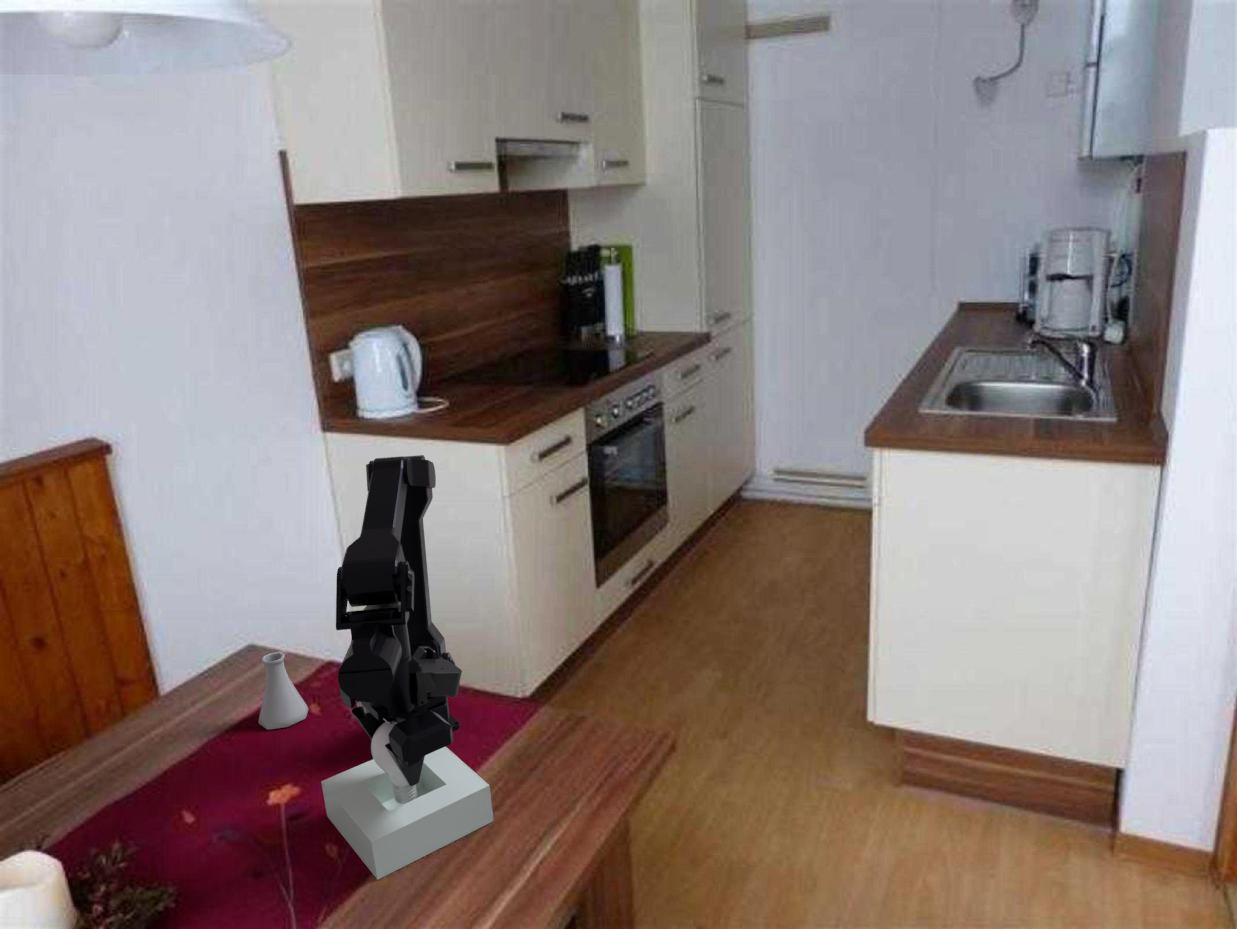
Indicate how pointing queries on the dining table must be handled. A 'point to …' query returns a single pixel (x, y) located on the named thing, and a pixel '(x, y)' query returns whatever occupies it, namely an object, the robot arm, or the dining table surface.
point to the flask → (280, 696)
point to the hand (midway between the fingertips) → (402, 772)
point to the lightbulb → (391, 765)
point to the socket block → (406, 810)
